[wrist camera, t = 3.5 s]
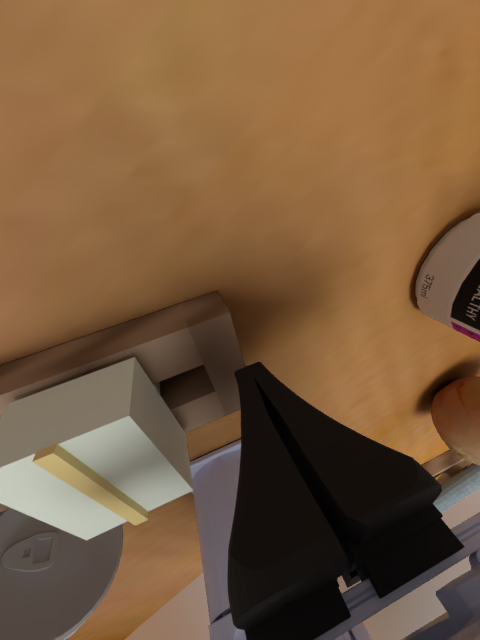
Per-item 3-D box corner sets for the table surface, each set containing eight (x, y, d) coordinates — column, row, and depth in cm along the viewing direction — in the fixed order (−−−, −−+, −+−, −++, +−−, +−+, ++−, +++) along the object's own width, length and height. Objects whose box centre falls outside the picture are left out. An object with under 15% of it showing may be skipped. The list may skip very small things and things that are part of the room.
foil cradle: (469, 439, 47) (481, 449, 45) (432, 490, 62) (440, 499, 61) (419, 466, 45) (429, 476, 43) (394, 511, 60) (401, 521, 59)
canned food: (-117, 603, 14) (-35, 502, 12) (40, 537, 21) (110, 464, 19) (-169, 832, 10) (-57, 735, 8) (47, 660, 17) (138, 583, 15)
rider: (137, 326, 12) (127, 422, 7) (181, 402, 15) (194, 497, 11) (33, 362, 11) (-52, 495, 6) (106, 433, 15) (85, 549, 10)
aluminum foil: (478, 457, 48) (498, 474, 45) (479, 463, 52) (497, 479, 49) (390, 517, 51) (403, 536, 49) (397, 518, 55) (410, 536, 52)
